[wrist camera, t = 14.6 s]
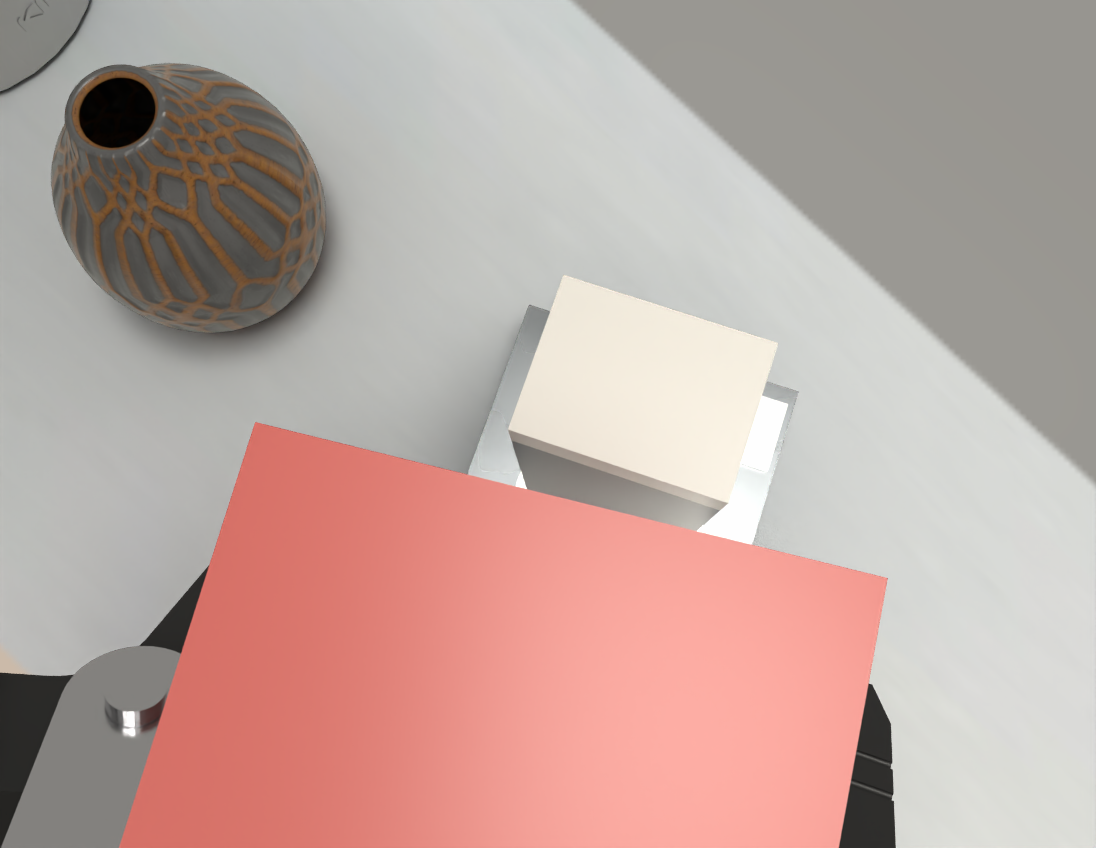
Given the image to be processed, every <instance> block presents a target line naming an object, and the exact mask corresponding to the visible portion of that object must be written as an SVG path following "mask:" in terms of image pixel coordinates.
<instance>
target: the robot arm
mask: <svg viewBox="0 0 1096 848" xmlns="http://www.w3.org/2000/svg"><path fill="white" fill-rule="evenodd" d="M88 3H89V0H0V91H2V90H5V89H8V88H10V87H11V86H13V85H15V84H17V83H18V82H20V81H22V80H23V79H25V78H27V77H29V76H30V75H32V74H34V73H35V72H36V71H38V70H39V69H40V68H41V67H42V66H43V65H44V64H46V63H47V62H48V61H49V60H50V59H51V58H53V57H54V56H55V55H56V54H57V53H58V52H59V51H60V49H61V48H62V47H63V46H64V44H65V43H66V42H67V41H68V39H69V38H70V37H71V35H72V34H73V33H74V32H75V30H76V28H77V26H78V24H79V22H80V20H81V18H82V16H83V14H84V13H85V11H86V9H87V7H88ZM208 568H209V566H208V567H207V568H206V569H205V571H204V572H203V573H202V574H201V575H200V577H199V578H198V579H197V580H196V581H195V582H194V584H193V585H192V586H191V587H190V588H189V590H188V591H187V592H186V593H185V594H184V595H183V597H182V598H181V599H180V600H179V601H178V602H177V604H176V605H175V606H174V607H173V608H172V610H171V611H170V612H169V613H168V614H167V615H166V617H165V618H164V619H163V620H162V621H161V623H160V624H159V625H158V626H157V627H156V628H155V630H154V631H153V632H152V633H151V634H150V635H149V637H148V638H147V639H146V640H145V641H144V642H143V643H142V644H141V645H140V646H137V647H128V648H123V649H119V650H115V651H112V652H109V653H106V654H104V655H102V656H100V657H98V658H96V659H94V660H92V661H90V662H89V663H88V664H86V665H85V666H83V667H82V668H81V669H80V670H79V671H78V672H77V673H75V674H74V675H67V676H40V675H26V674H11V673H0V848H119V846H120V843H121V840H122V837H123V833H124V830H125V827H126V824H127V821H128V818H129V815H130V812H131V808H132V805H133V802H134V799H135V796H136V793H137V790H138V787H139V783H140V780H141V777H142V774H143V771H144V768H145V765H146V762H147V758H148V755H149V752H150V749H151V746H152V743H153V740H154V737H155V733H156V730H157V727H158V724H159V721H160V718H161V715H162V712H163V709H164V705H165V702H166V699H167V696H168V693H169V690H170V687H171V684H172V680H173V677H174V674H175V671H176V668H177V665H178V662H179V659H180V655H181V652H182V649H183V646H184V643H185V640H186V637H187V634H188V630H189V627H190V624H191V621H192V618H193V615H194V612H195V609H196V605H197V602H198V599H199V596H200V593H201V590H202V587H203V584H204V580H205V577H206V574H207V571H208ZM891 764H892V742H891V723H890V721H889V719H888V717H887V715H886V713H885V711H884V709H883V706H882V704H881V702H880V700H879V698H878V696H877V694H876V692H875V690H874V688H873V685H871V684H868V689H867V695H866V700H865V706H864V711H863V717H862V722H861V728H860V733H859V739H858V744H857V750H856V755H855V761H854V766H853V772H852V777H851V783H850V788H849V794H848V799H847V805H846V810H845V816H844V821H843V827H842V832H841V838H840V843H839V848H896V845H895V819H894V801H892V795H893V770H892V769H890V768H891Z"/></svg>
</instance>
